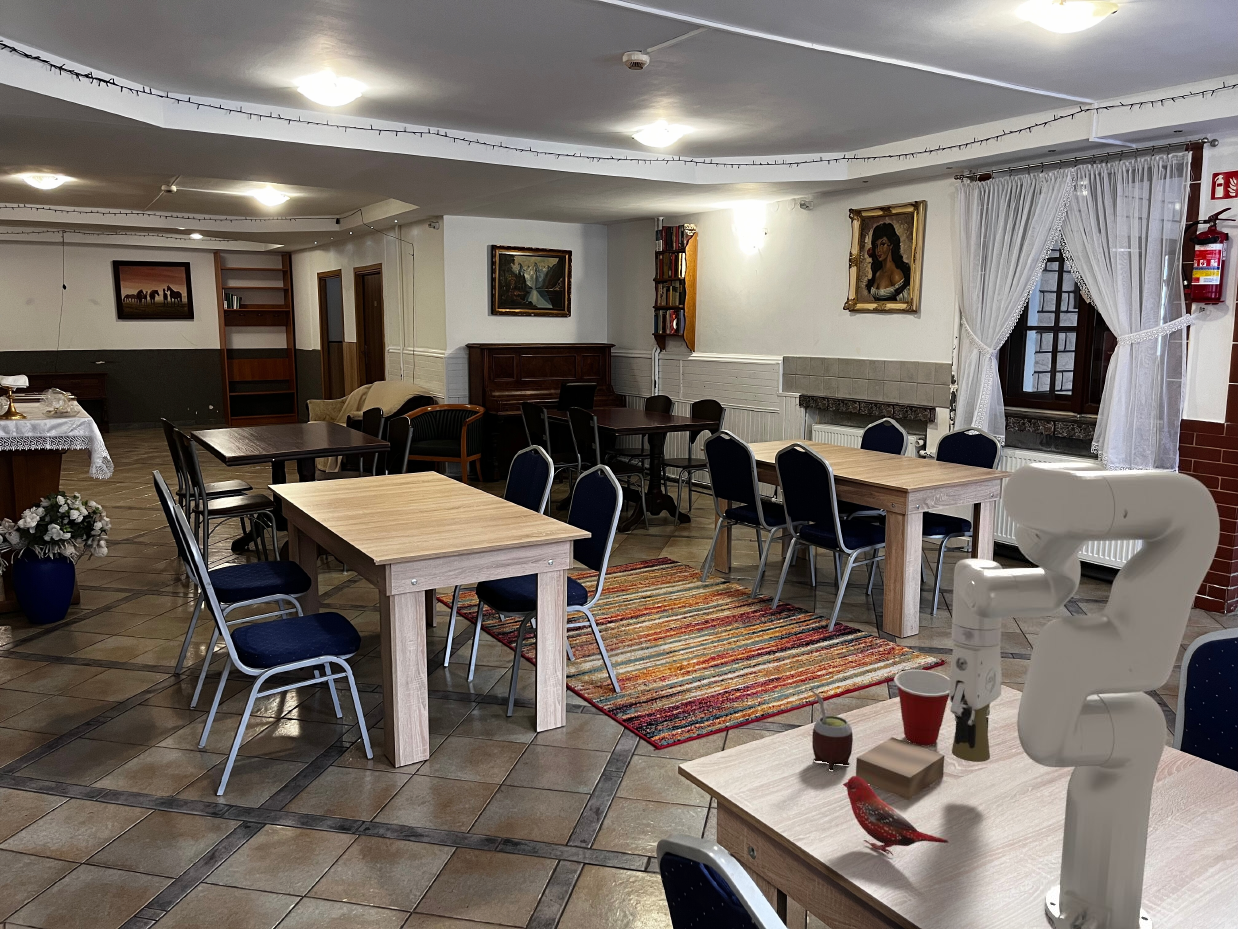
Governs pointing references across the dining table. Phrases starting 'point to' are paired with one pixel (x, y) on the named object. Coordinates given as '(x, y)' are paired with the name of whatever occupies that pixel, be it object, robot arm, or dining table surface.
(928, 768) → the walnut plinth
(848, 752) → the mate gourd
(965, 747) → the olive pawn figure
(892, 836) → the decorative bird figurine
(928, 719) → the plastic cup
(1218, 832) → the dining table surface
